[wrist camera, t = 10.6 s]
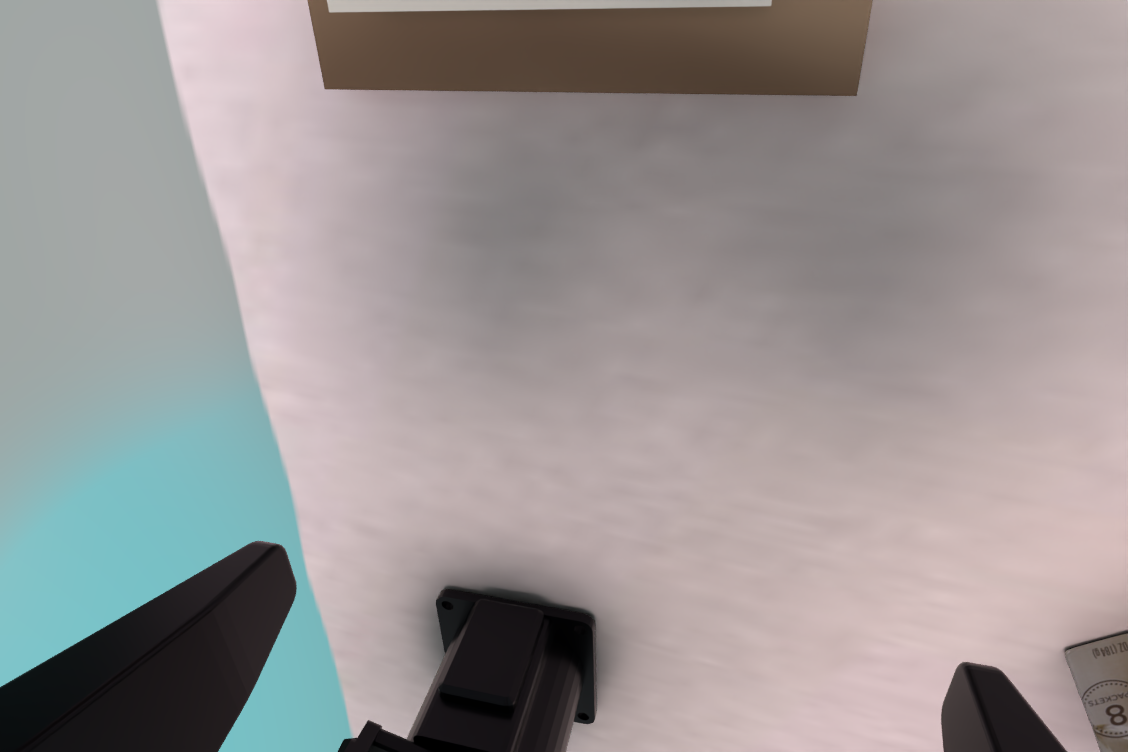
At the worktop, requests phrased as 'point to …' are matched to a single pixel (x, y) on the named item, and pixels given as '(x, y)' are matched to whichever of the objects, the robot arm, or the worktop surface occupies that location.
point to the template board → (593, 45)
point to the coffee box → (1104, 688)
